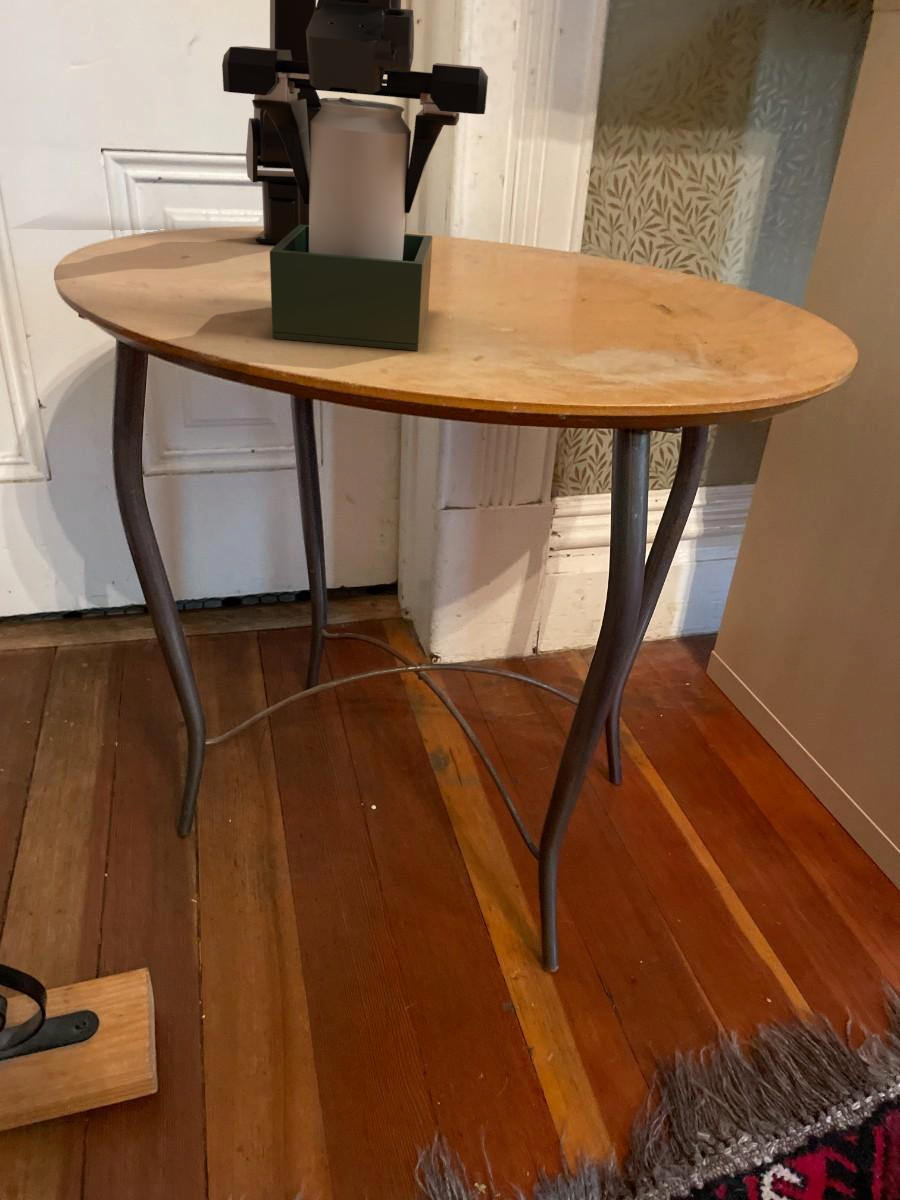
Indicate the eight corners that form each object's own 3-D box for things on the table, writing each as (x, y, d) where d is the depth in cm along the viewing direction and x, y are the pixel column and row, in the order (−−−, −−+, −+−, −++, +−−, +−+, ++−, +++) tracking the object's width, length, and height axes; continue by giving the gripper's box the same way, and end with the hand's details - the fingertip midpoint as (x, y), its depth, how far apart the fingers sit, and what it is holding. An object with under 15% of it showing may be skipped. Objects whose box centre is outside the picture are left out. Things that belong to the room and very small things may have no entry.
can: (388, 286, 68) (398, 109, 62) (295, 272, 69) (295, 96, 63) (411, 266, 74) (423, 104, 68) (325, 253, 75) (329, 92, 69)
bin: (300, 302, 79) (299, 224, 75) (428, 313, 79) (432, 235, 75) (272, 338, 69) (269, 250, 66) (417, 351, 69) (422, 264, 66)
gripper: (190, -60, 54) (209, 215, 63) (495, -33, 54) (473, 238, 62) (236, -46, 63) (247, 191, 72) (496, -23, 63) (476, 212, 72)
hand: (356, 208), depth 69 cm, fingers closed on can, 7 cm apart
